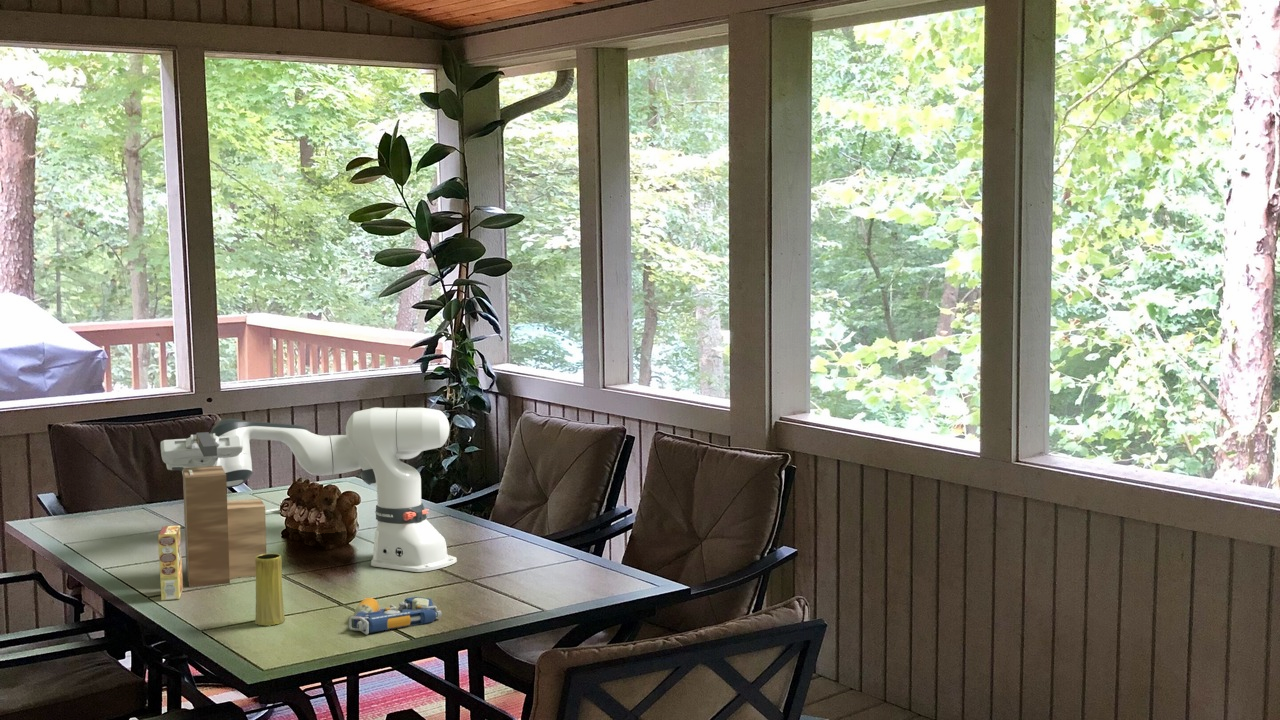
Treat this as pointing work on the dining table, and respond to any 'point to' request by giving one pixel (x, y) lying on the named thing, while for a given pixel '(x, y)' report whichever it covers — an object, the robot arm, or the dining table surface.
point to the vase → (269, 589)
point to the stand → (219, 529)
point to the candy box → (170, 562)
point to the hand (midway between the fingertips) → (203, 436)
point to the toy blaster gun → (393, 615)
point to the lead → (206, 444)
